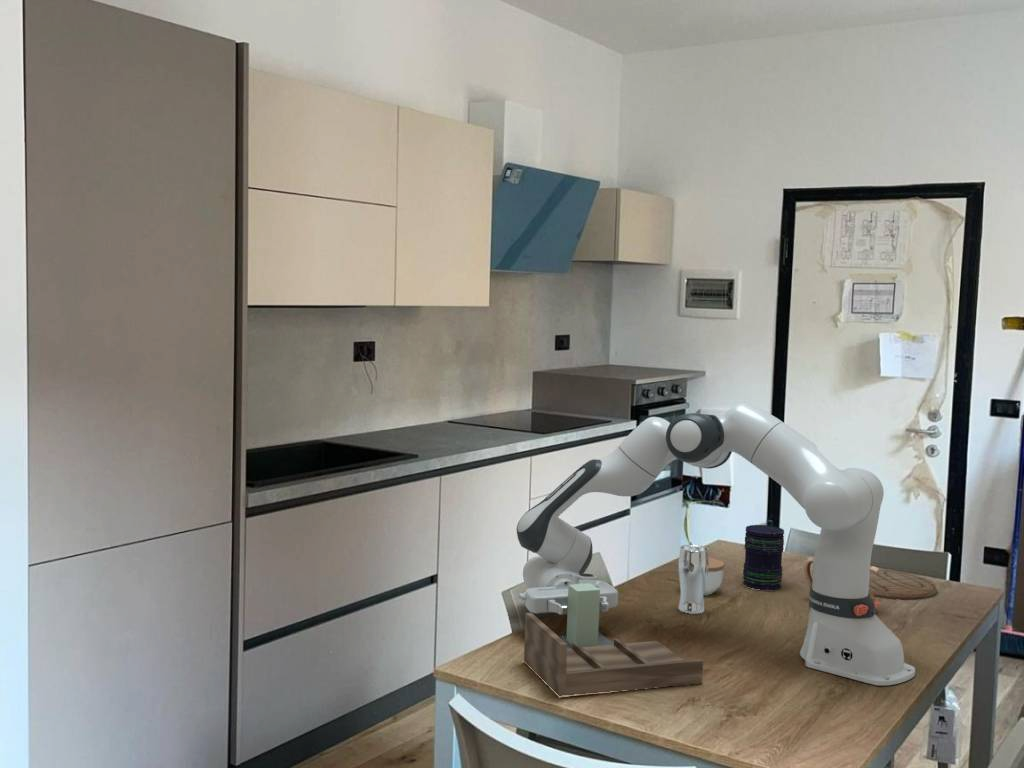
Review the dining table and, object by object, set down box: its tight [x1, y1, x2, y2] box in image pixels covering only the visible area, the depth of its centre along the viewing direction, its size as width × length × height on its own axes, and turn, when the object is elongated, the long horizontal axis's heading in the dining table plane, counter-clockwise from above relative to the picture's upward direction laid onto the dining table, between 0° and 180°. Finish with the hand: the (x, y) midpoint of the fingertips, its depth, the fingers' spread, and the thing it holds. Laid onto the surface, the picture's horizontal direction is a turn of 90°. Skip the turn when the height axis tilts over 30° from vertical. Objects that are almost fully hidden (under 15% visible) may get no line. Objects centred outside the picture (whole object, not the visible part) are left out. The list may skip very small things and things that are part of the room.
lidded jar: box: [703, 557, 725, 596], centre depth 254 cm, size 11×11×9 cm
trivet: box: [869, 567, 937, 601], centre depth 265 cm, size 25×25×2 cm
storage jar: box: [742, 524, 785, 591], centre depth 261 cm, size 10×10×15 cm
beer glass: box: [677, 544, 709, 615], centre depth 238 cm, size 7×7×15 cm
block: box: [566, 583, 600, 647], centre depth 211 cm, size 5×5×12 cm
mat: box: [556, 631, 614, 649], centre depth 211 cm, size 12×13×1 cm
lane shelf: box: [523, 612, 704, 696], centre depth 196 cm, size 19×29×10 cm, turn 109°
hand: (584, 609), depth 210 cm, fingers open, 8 cm apart
